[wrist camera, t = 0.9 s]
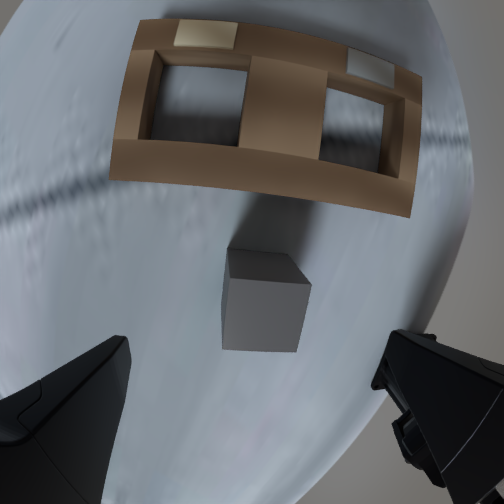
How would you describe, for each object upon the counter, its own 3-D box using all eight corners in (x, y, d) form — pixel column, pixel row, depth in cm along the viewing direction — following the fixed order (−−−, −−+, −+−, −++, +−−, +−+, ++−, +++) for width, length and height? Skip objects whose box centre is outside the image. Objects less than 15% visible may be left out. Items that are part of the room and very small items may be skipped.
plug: (278, 308, 22) (296, 352, 16) (221, 304, 21) (222, 349, 16) (287, 254, 21) (311, 284, 15) (227, 248, 20) (229, 278, 15)
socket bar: (388, 211, 21) (412, 219, 18) (124, 178, 18) (107, 180, 15) (401, 84, 18) (424, 76, 15) (149, 37, 15) (139, 18, 12)
